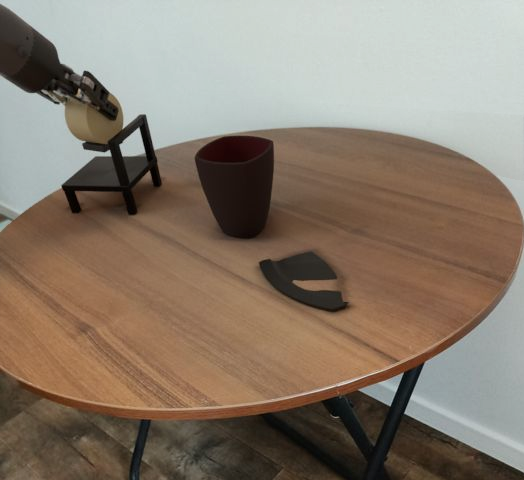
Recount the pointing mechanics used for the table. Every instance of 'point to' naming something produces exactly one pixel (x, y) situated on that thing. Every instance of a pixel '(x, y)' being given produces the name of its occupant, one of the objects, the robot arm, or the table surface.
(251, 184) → the cup
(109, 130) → the short beige cylinder
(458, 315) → the table surface
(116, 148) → the chair
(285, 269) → the fan shaped piece
